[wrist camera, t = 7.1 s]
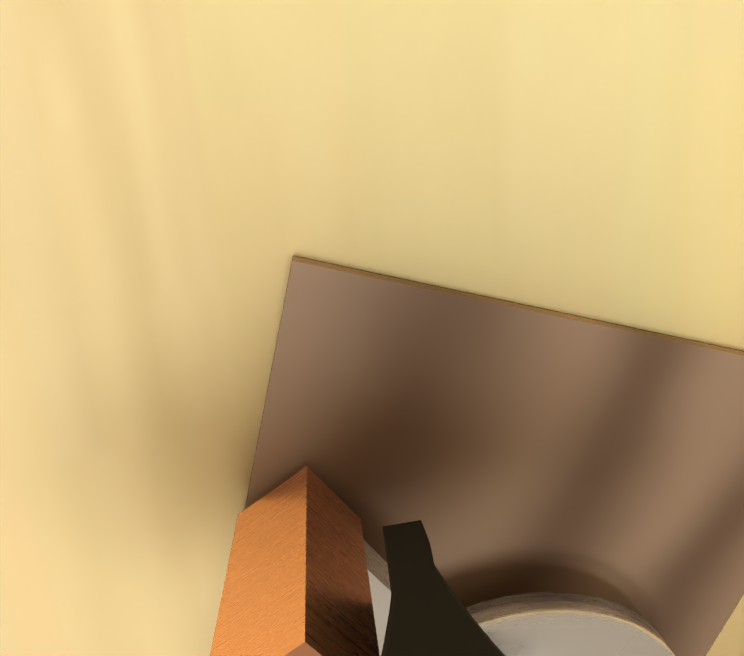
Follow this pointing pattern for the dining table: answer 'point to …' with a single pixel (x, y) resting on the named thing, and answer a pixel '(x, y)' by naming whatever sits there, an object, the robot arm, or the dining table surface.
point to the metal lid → (377, 592)
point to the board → (517, 443)
